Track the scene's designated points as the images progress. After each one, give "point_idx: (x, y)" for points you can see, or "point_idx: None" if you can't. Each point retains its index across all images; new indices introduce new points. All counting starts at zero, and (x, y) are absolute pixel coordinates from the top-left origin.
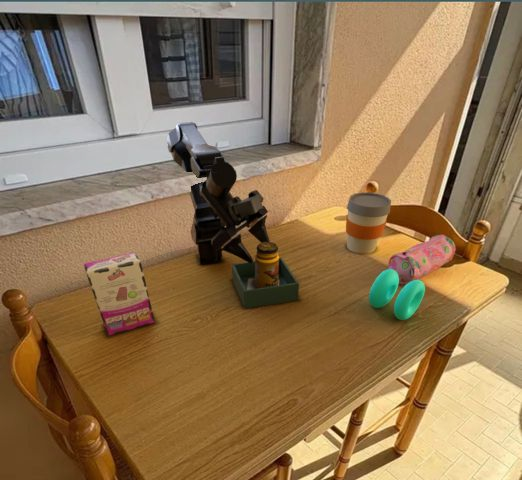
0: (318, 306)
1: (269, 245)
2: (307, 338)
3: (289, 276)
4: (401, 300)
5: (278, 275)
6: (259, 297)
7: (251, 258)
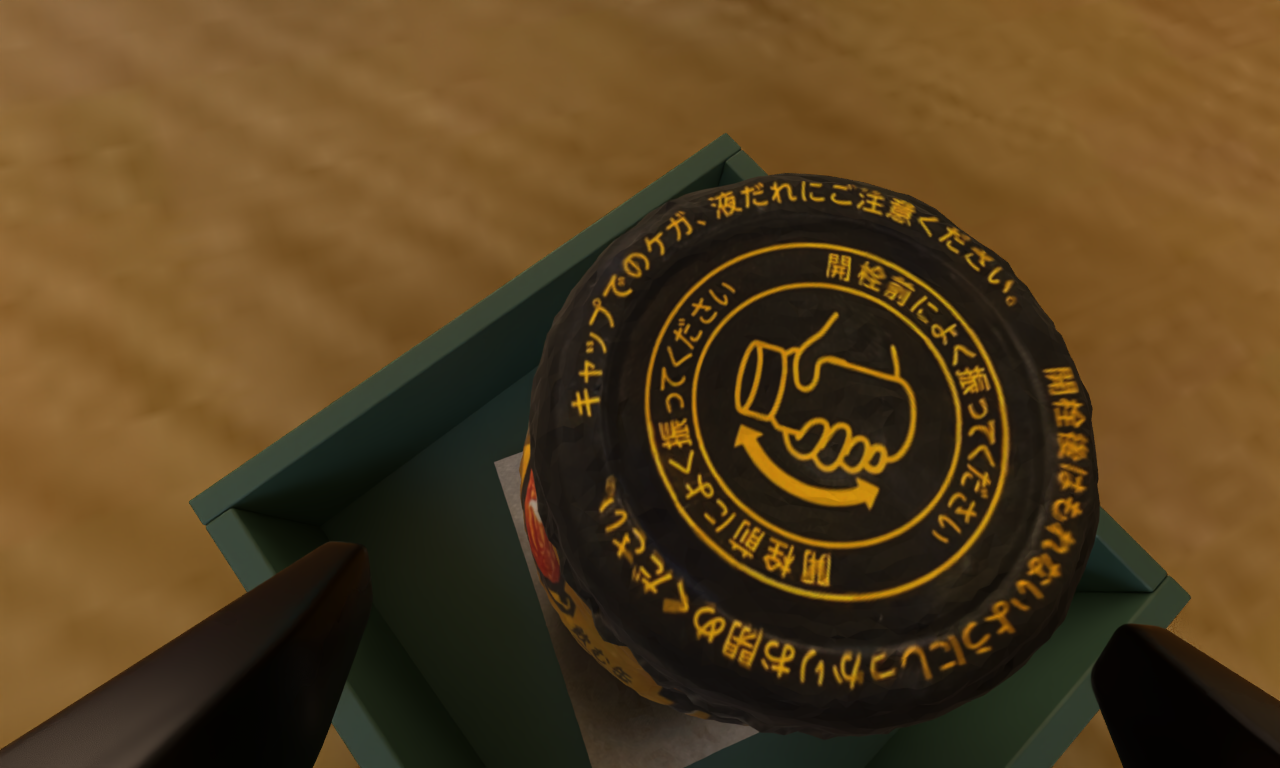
0: (704, 93)
1: (747, 381)
2: (1062, 75)
3: (563, 295)
4: None
5: (395, 509)
6: None
7: (1206, 666)
